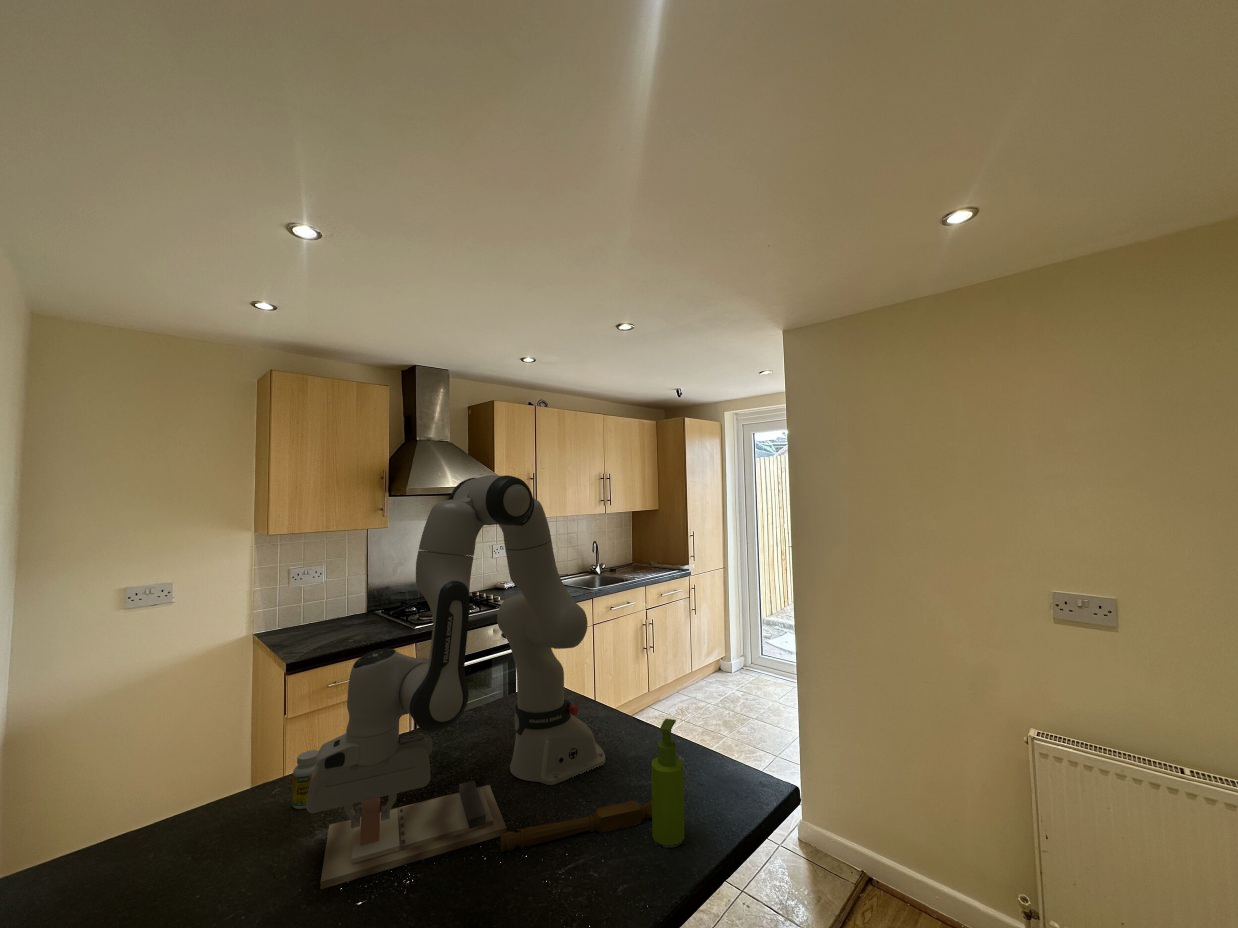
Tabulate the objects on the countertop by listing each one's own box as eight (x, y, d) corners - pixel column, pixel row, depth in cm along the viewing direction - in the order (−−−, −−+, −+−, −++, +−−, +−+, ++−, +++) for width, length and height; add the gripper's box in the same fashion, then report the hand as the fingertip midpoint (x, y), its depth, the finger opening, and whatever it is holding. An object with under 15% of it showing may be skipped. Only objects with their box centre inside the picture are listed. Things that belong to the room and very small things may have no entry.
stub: (397, 812, 98) (397, 781, 98) (399, 850, 87) (400, 815, 87) (354, 823, 95) (355, 791, 95) (351, 863, 84) (352, 827, 84)
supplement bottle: (321, 791, 108) (323, 745, 108) (322, 804, 103) (324, 755, 104) (291, 800, 105) (293, 752, 105) (291, 813, 100) (293, 763, 101)
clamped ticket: (489, 790, 107) (489, 772, 108) (506, 834, 93) (506, 813, 93) (329, 831, 94) (329, 811, 95) (320, 889, 80) (321, 865, 80)
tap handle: (500, 828, 91) (652, 796, 100) (500, 846, 90) (653, 812, 100) (501, 839, 88) (658, 805, 97) (501, 857, 87) (659, 821, 97)
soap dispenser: (688, 827, 94) (686, 718, 96) (680, 851, 88) (678, 733, 90) (658, 821, 96) (656, 714, 98) (648, 844, 90) (647, 729, 92)
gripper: (431, 724, 99) (429, 797, 98) (311, 747, 90) (308, 827, 89) (434, 737, 93) (432, 815, 92) (306, 763, 84) (303, 849, 83)
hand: (370, 821), depth 91 cm, fingers open, 3 cm apart
